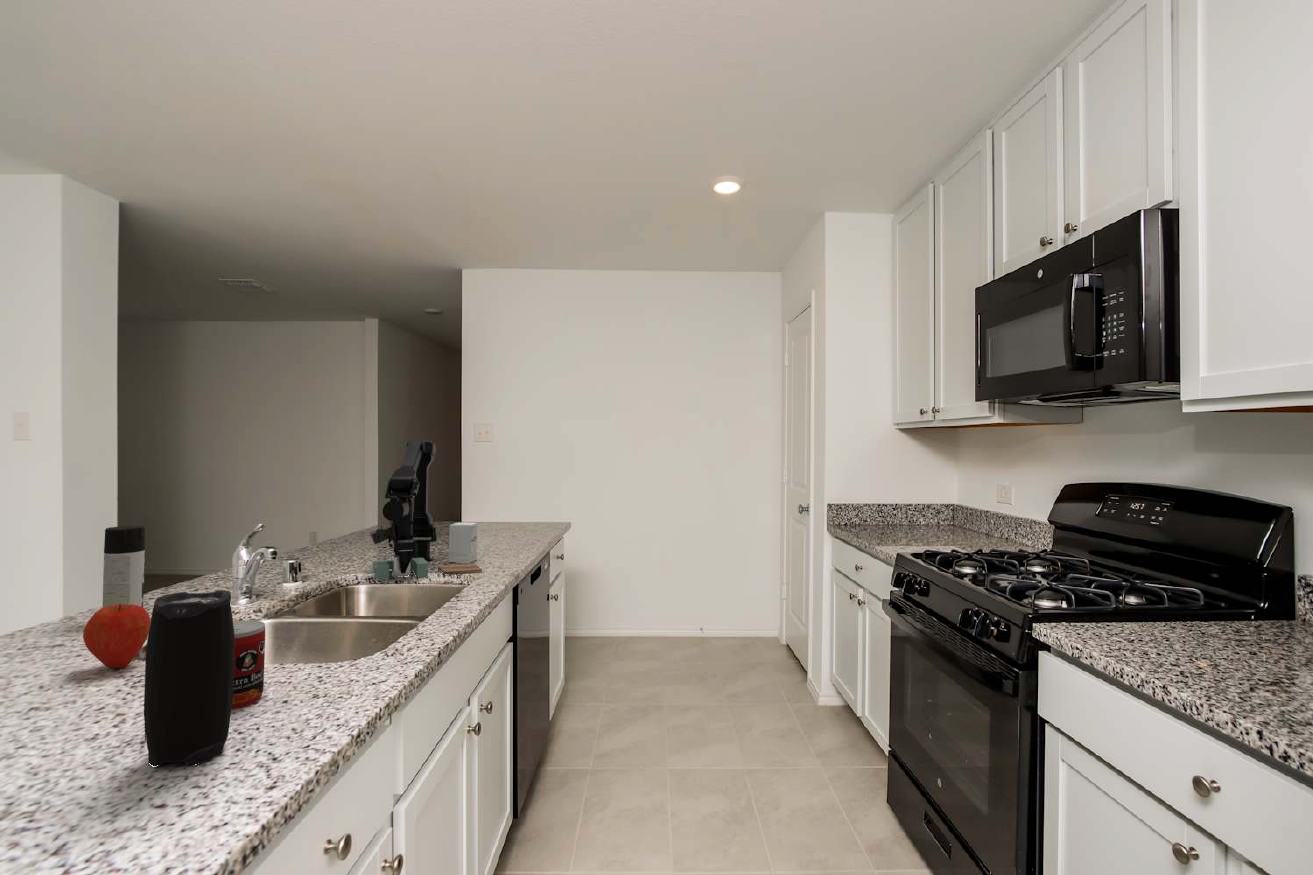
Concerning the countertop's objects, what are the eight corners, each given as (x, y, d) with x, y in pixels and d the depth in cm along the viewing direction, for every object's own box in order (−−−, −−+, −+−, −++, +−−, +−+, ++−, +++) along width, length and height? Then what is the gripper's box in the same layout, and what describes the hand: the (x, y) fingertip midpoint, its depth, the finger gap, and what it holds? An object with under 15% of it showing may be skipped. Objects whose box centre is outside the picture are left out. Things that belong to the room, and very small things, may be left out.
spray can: (149, 620, 134) (152, 526, 135) (111, 628, 128) (114, 530, 129) (132, 615, 137) (135, 524, 138) (94, 623, 131) (97, 527, 131)
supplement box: (470, 563, 205) (471, 525, 205) (447, 563, 205) (448, 524, 205) (477, 559, 212) (478, 522, 212) (455, 559, 212) (456, 521, 212)
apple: (70, 678, 101) (72, 611, 101) (101, 661, 109) (103, 598, 109) (133, 674, 103) (135, 608, 103) (159, 657, 111) (161, 596, 112)
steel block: (391, 575, 185) (392, 554, 185) (408, 573, 187) (408, 553, 187) (393, 577, 181) (394, 557, 181) (410, 576, 183) (410, 556, 183)
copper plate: (437, 568, 195) (438, 565, 195) (473, 566, 201) (473, 562, 201) (444, 575, 186) (444, 571, 186) (481, 572, 191) (481, 569, 191)
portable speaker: (240, 733, 83) (245, 586, 84) (214, 768, 74) (220, 603, 75) (163, 741, 81) (168, 589, 81) (127, 778, 72) (133, 607, 72)
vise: (363, 571, 189) (364, 558, 189) (420, 567, 196) (420, 554, 196) (367, 581, 175) (367, 567, 175) (427, 576, 183) (428, 563, 183)
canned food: (217, 716, 88) (219, 637, 89) (191, 703, 93) (193, 628, 93) (274, 698, 95) (276, 625, 95) (247, 686, 99) (249, 616, 99)
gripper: (369, 514, 189) (368, 566, 189) (375, 521, 172) (373, 578, 172) (409, 513, 194) (408, 564, 194) (418, 520, 178) (416, 575, 178)
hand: (401, 570), depth 184 cm, fingers open, 9 cm apart
